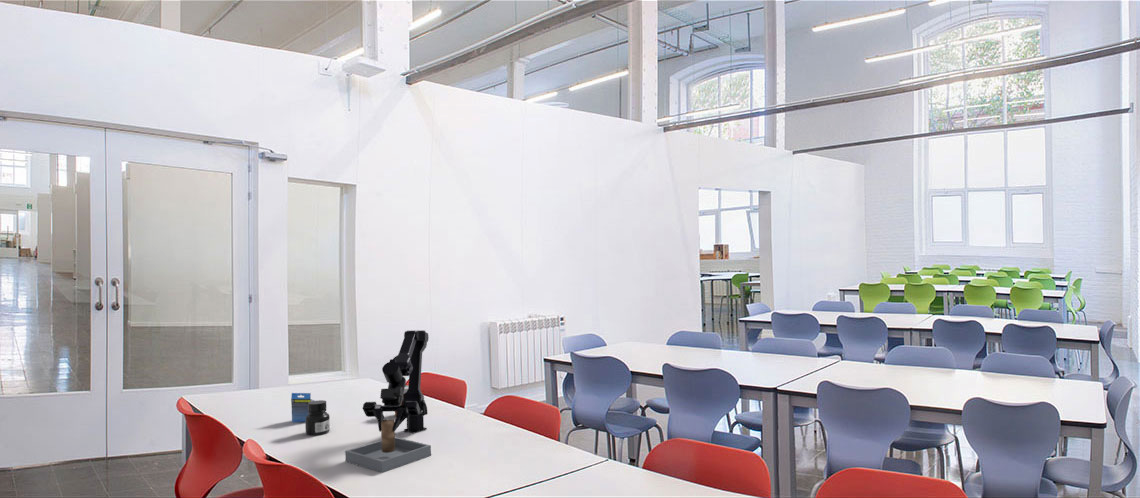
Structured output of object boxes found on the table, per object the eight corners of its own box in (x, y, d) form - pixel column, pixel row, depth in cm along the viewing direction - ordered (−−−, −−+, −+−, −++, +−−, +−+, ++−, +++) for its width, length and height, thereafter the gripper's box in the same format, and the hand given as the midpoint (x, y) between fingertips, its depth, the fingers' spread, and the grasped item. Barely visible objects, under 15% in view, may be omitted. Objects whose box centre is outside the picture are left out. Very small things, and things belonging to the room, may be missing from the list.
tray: (431, 455, 221) (430, 445, 221) (382, 472, 205) (382, 461, 205) (394, 446, 233) (393, 436, 233) (345, 461, 217) (345, 451, 217)
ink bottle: (320, 436, 248) (320, 405, 248) (300, 435, 250) (299, 404, 250) (334, 429, 257) (334, 399, 257) (315, 428, 259) (314, 399, 259)
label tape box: (316, 419, 274) (315, 390, 274) (311, 422, 270) (310, 393, 270) (296, 419, 275) (295, 391, 275) (291, 422, 271) (290, 393, 271)
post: (395, 448, 221) (394, 419, 221) (394, 452, 217) (394, 422, 217) (382, 449, 221) (381, 420, 221) (381, 453, 216) (380, 423, 216)
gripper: (363, 378, 223) (352, 419, 212) (417, 377, 223) (409, 418, 212) (371, 396, 231) (361, 436, 220) (423, 395, 230) (416, 435, 219)
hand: (386, 430), depth 217 cm, fingers closed on post, 4 cm apart
